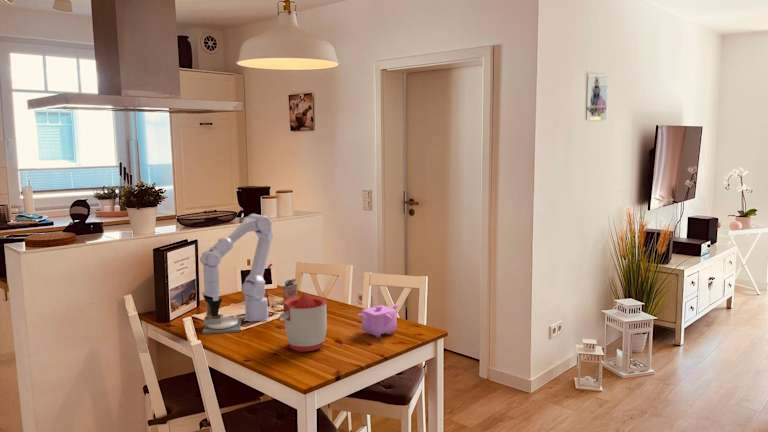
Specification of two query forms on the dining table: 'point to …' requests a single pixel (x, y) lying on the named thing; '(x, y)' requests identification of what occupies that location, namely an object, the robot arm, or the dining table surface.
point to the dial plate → (226, 330)
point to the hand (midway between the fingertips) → (213, 314)
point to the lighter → (290, 289)
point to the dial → (220, 322)
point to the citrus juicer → (305, 322)
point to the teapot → (379, 320)
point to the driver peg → (209, 312)
